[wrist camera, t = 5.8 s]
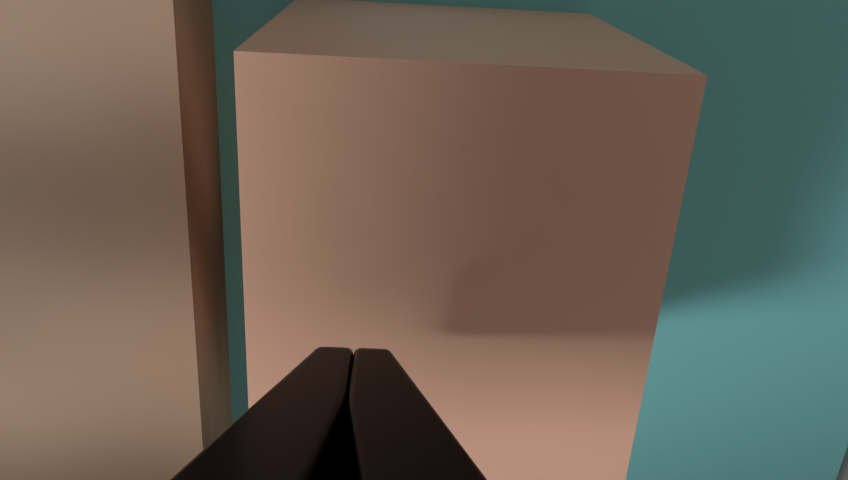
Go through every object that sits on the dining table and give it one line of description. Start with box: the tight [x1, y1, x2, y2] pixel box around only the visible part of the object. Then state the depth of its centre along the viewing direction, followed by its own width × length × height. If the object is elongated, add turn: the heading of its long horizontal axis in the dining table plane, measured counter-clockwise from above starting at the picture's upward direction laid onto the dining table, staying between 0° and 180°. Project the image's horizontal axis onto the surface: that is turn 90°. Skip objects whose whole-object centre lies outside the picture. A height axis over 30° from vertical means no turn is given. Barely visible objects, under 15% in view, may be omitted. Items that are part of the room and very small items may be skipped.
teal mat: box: [212, 0, 848, 480], centre depth 16 cm, size 22×15×1 cm
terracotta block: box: [233, 0, 707, 480], centre depth 13 cm, size 7×6×6 cm
